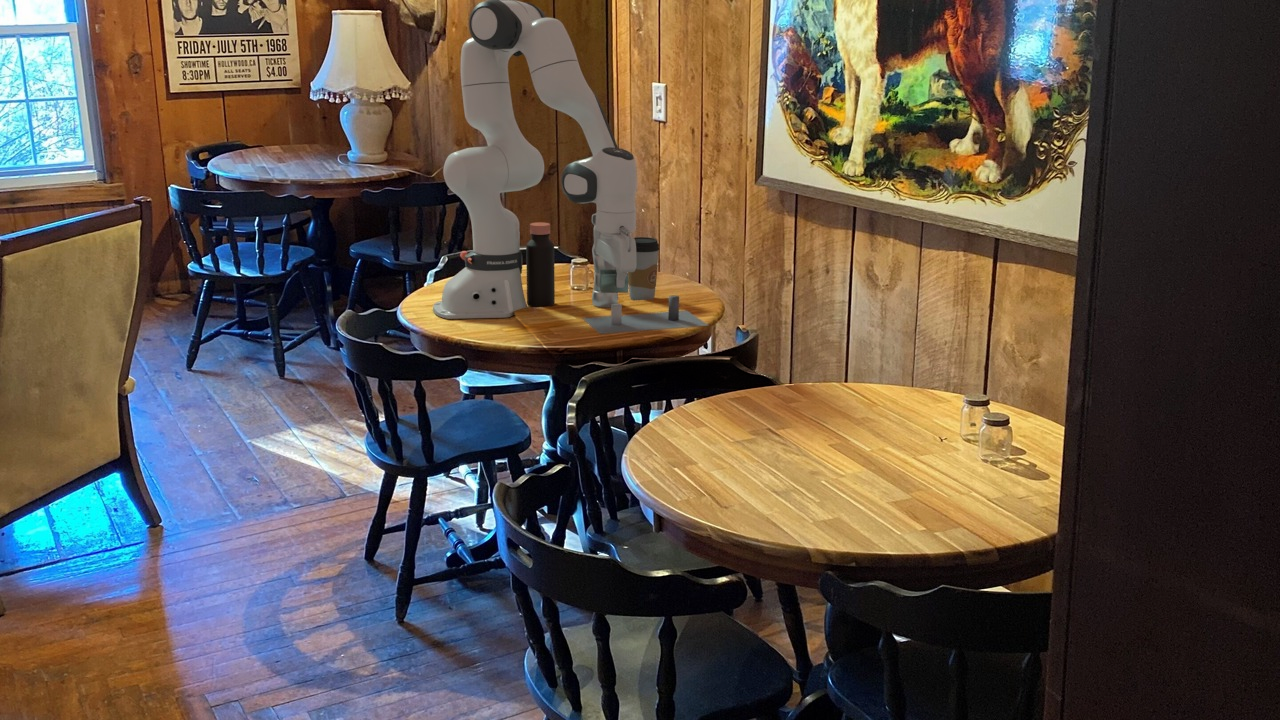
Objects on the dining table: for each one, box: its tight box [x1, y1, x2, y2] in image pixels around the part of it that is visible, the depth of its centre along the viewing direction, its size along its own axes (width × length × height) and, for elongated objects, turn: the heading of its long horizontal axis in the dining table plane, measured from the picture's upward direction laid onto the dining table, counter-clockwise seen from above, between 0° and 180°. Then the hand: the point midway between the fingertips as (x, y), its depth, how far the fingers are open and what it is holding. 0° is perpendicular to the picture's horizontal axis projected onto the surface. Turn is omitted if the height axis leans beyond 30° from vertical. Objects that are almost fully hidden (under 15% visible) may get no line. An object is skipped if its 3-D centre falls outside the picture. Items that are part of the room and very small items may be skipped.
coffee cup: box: [627, 236, 660, 301], centre depth 295 cm, size 8×8×15 cm
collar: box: [599, 270, 629, 294], centre depth 267 cm, size 6×6×4 cm
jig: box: [582, 294, 710, 335], centre depth 271 cm, size 26×14×6 cm, turn 109°
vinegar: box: [525, 221, 556, 308], centre depth 287 cm, size 7×7×20 cm
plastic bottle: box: [591, 244, 619, 309], centre depth 284 cm, size 6×7×20 cm
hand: (614, 282), depth 267 cm, fingers closed on collar, 7 cm apart
